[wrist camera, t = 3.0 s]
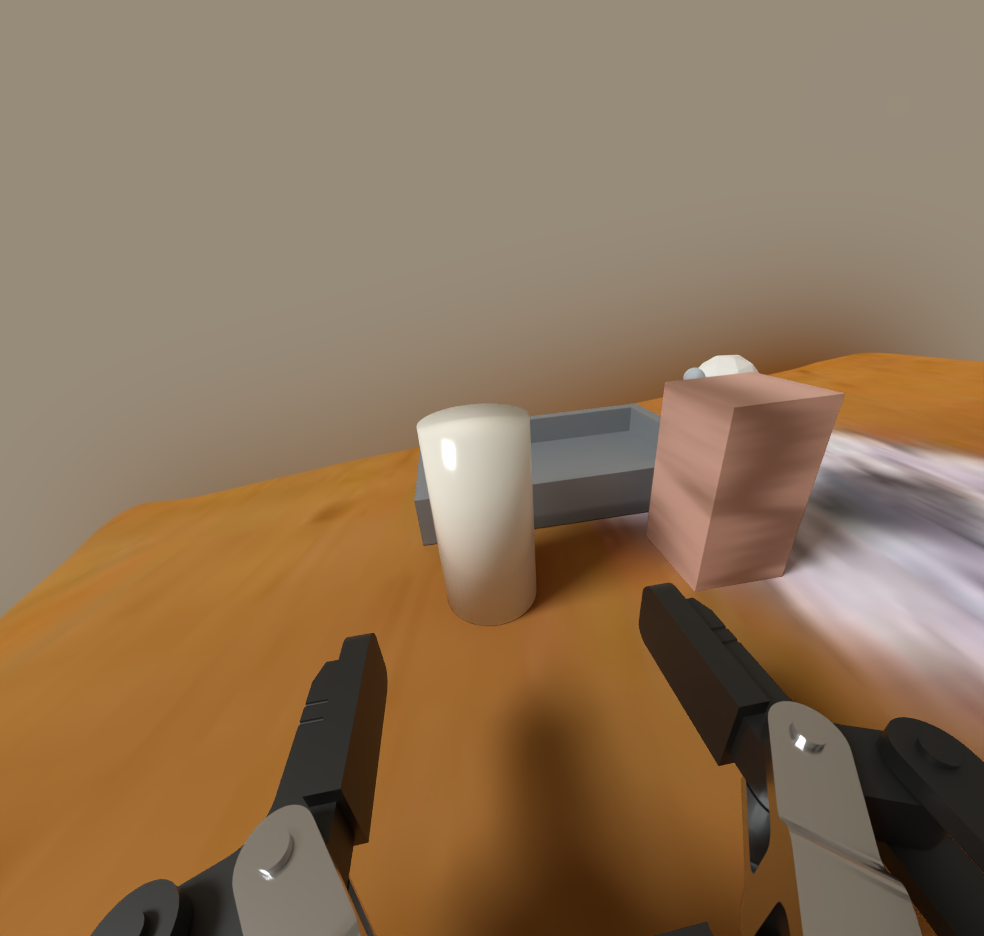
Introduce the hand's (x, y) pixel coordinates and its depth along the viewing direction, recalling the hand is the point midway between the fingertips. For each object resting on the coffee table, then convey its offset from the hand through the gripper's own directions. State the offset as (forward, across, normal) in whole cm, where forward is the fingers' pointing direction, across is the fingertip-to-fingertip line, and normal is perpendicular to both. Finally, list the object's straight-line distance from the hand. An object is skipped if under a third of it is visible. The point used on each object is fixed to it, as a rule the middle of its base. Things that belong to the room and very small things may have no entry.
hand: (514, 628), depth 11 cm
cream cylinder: (+8, 0, +6) cm, 10 cm away
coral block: (+8, -13, +6) cm, 16 cm away
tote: (+20, -7, +6) cm, 22 cm away
